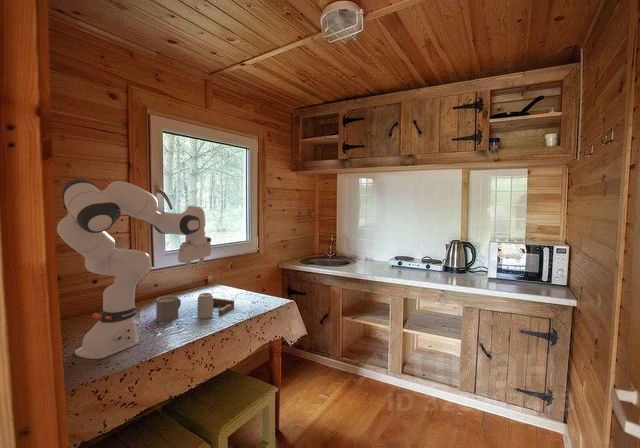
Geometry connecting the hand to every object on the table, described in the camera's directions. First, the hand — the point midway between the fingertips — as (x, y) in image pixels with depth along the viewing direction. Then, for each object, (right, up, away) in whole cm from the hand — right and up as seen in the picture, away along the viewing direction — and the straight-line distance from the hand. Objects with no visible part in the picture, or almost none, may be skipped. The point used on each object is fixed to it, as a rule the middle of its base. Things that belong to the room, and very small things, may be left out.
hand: (195, 268), depth 151 cm
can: (+1, -27, +10) cm, 29 cm away
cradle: (+4, -26, +20) cm, 33 cm away
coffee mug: (-16, -26, +9) cm, 32 cm away
